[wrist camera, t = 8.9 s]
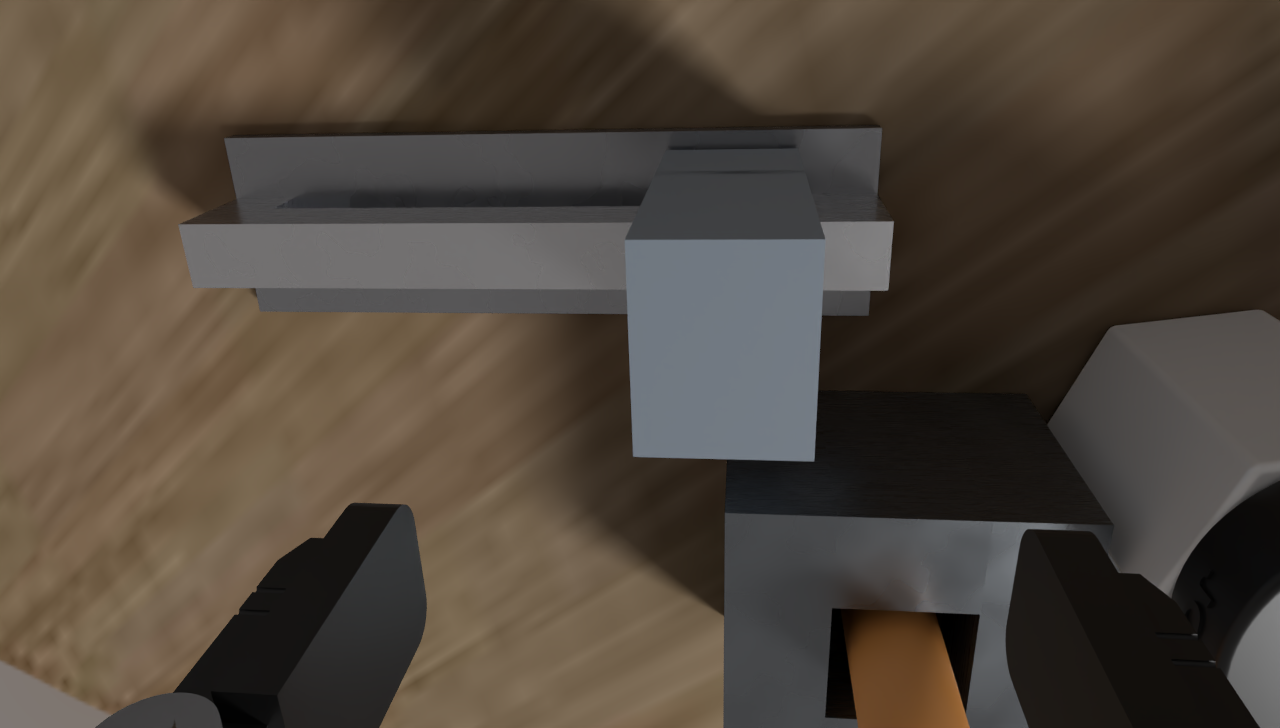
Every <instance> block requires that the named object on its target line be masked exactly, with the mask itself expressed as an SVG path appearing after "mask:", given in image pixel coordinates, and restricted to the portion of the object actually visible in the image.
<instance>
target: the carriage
mask: <svg viewBox="0 0 1280 728" xmlns="http://www.w3.org/2000/svg"><path fill="white" fill-rule="evenodd" d="M825 240H826V239H825V236H824V233H823V229H822V226H821V223H820V219H819V216H818V213H817V209H816V206H815V203H814V199H813V196H812V193H811V189H810V186H809V183H808V179H807V176H806V173H805V169H804V166H803V163H802V160H801V156H800V153H799V150H798V148H789V149H713V150H666V151H665V153H664V156H663V158H662V160H661V162H660V164H659V166H658V169H657V171H656V173H655V175H654V177H653V179H652V182H651V184H650V186H649V188H648V190H647V192H646V195H645V197H644V199H643V201H642V203H641V205H640V208H639V210H638V212H637V214H636V216H635V218H634V221H633V223H632V225H631V227H630V229H629V231H628V234H627V236H626V238H625V262H626V288H627V313H628V338H629V364H630V389H631V415H632V440H633V457H655V458H695V459H735V460H775V461H814V458H815V438H816V419H817V399H818V379H819V359H820V339H821V320H822V300H823V280H824V260H825Z"/></svg>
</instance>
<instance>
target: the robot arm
mask: <svg viewBox="0 0 1280 728" xmlns="http://www.w3.org/2000/svg"><path fill="white" fill-rule="evenodd" d="M426 609H427V603H426V592H425V586H424V579H423V573H422V566H421V560H420V553H419V547H418V541H417V534H416V528H415V521H414V517H413V513H412V511H411V509H410V508H409V506H407V505H401V504H373V503H352V504H350V505H349V506H348V507H347V508H346V509H345V510H344V512H343V513H342V514H341V516H340V517H339V518H338V520H337V521H336V522H335V524H334V525H333V526H332V528H331V529H330V530H329V532H328V533H327V534H326V536H325V537H324V538H310V539H308V540H307V541H305V542H304V543H302V544H301V545H299V546H298V547H297V548H295V549H294V550H292V551H291V552H289V553H288V554H286V555H285V556H283V557H282V558H280V559H279V560H278V561H277V562H276V563H275V564H274V566H273V567H272V568H271V570H270V571H269V572H268V573H267V575H266V576H265V577H264V578H263V580H262V581H261V582H260V583H259V585H258V586H257V591H256V592H252V594H251V595H250V596H249V597H248V599H247V600H246V601H245V602H244V604H243V605H242V606H241V607H240V609H239V614H238V615H234V616H233V618H232V619H231V620H230V621H229V623H228V624H227V625H226V626H225V628H224V629H223V630H222V631H221V633H220V634H219V635H218V637H217V638H216V639H215V640H214V642H213V643H212V644H211V645H210V647H209V648H208V649H207V650H206V652H205V653H204V654H203V656H202V657H201V658H200V659H199V661H198V662H197V663H196V664H195V666H194V667H193V668H192V669H191V671H190V672H189V673H188V674H187V676H186V677H185V678H184V680H183V681H182V682H181V683H180V685H179V686H178V687H177V688H176V690H175V691H174V692H173V693H168V694H162V695H157V696H153V697H150V698H147V699H144V700H141V701H138V702H136V703H134V704H131V705H129V706H127V707H125V708H123V709H121V710H119V711H117V712H116V713H114V714H113V715H111V716H110V717H108V718H107V719H105V720H104V721H103V722H102V723H100V724H99V725H98V726H96V727H95V728H379V727H380V725H381V723H382V721H383V718H384V716H385V714H386V712H387V710H388V708H389V706H390V704H391V702H392V700H393V698H394V696H395V694H396V692H397V690H398V688H399V685H400V683H401V681H402V679H403V677H404V675H405V673H406V671H407V669H408V667H409V665H410V663H411V661H412V659H413V657H414V655H415V652H416V650H417V648H418V646H419V644H420V642H421V639H422V635H423V632H424V627H425V621H426ZM1197 635H1198V634H1197V633H1196V631H1195V630H1194V628H1193V627H1192V625H1191V624H1190V622H1189V621H1188V619H1187V618H1186V616H1185V615H1184V613H1183V612H1182V610H1181V609H1180V607H1179V606H1178V604H1177V603H1176V602H1175V601H1174V600H1173V599H1172V598H1170V597H1169V596H1168V595H1166V594H1165V593H1164V592H1163V591H1161V590H1160V589H1159V588H1157V587H1156V586H1155V585H1154V584H1152V583H1151V582H1150V581H1148V580H1147V579H1146V578H1144V577H1143V576H1142V575H1141V574H1133V573H1118V571H1117V570H1116V568H1115V566H1114V565H1113V563H1112V561H1111V560H1110V558H1109V556H1108V555H1107V553H1106V551H1105V550H1104V548H1103V546H1102V545H1101V543H1100V541H1099V540H1098V538H1097V537H1096V535H1095V534H1094V533H1092V532H1090V531H1072V530H1045V529H1027V530H1026V531H1025V532H1024V534H1023V536H1022V539H1021V542H1020V547H1019V553H1018V559H1017V565H1016V571H1015V577H1014V583H1013V589H1012V595H1011V601H1010V607H1009V613H1008V619H1007V625H1006V638H1005V643H1006V657H1007V664H1008V670H1009V674H1010V677H1011V680H1012V683H1013V686H1014V689H1015V691H1016V694H1017V697H1018V700H1019V702H1020V705H1021V708H1022V711H1023V713H1024V716H1025V719H1026V722H1027V724H1028V727H1029V728H1260V727H1259V725H1258V724H1257V722H1256V721H1255V719H1254V718H1253V716H1252V715H1251V713H1250V712H1249V710H1248V709H1247V707H1246V706H1245V704H1244V703H1243V701H1242V700H1241V698H1240V697H1239V695H1238V694H1237V692H1236V691H1235V689H1234V688H1233V686H1232V685H1231V683H1230V682H1229V680H1228V679H1227V677H1226V676H1225V674H1224V673H1223V671H1222V670H1221V668H1216V665H1215V662H1216V661H1215V659H1214V658H1213V656H1212V655H1211V653H1210V652H1209V650H1208V649H1207V647H1206V646H1205V644H1204V643H1203V641H1198V637H1197Z"/></svg>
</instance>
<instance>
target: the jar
mask: <svg viewBox="0 0 1280 728" xmlns="http://www.w3.org/2000/svg"><path fill="white" fill-rule="evenodd" d="M1047 426H1048V427H1049V429H1050V430H1051V432H1052V433H1053V435H1054V436H1055V438H1056V439H1057V441H1058V442H1059V444H1060V445H1061V447H1062V448H1063V450H1064V451H1065V453H1066V454H1067V456H1068V457H1069V459H1070V460H1071V462H1072V463H1073V465H1074V466H1075V468H1076V469H1077V471H1078V472H1079V474H1080V475H1081V477H1082V478H1083V480H1084V481H1085V483H1086V484H1087V486H1088V487H1089V489H1090V490H1091V492H1092V493H1093V495H1094V496H1095V498H1096V499H1097V501H1098V502H1099V504H1100V505H1101V507H1102V508H1103V510H1104V511H1105V513H1106V514H1107V516H1108V517H1109V519H1110V520H1111V521H1112V523H1113V524H1114V529H1113V534H1112V538H1111V543H1110V548H1109V553H1108V556H1109V558H1110V560H1111V561H1112V563H1113V565H1114V566H1115V568H1116V570H1117V571H1118V573H1133V574H1141V575H1142V576H1143V577H1144V578H1146V579H1147V580H1148V581H1150V582H1151V583H1152V584H1154V585H1155V586H1156V587H1157V588H1159V589H1160V590H1161V591H1163V592H1164V593H1165V594H1166V595H1168V596H1169V597H1170V598H1172V599H1173V600H1174V601H1175V602H1176V603H1177V604H1178V606H1179V607H1180V609H1181V610H1182V612H1183V613H1184V615H1185V616H1186V618H1187V619H1188V621H1189V622H1190V624H1191V625H1192V627H1193V628H1194V630H1195V631H1196V633H1197V634H1198V635H1197V637H1198V641H1203V643H1204V644H1205V646H1206V647H1207V649H1208V650H1209V652H1210V653H1211V655H1212V656H1213V658H1214V659H1215V661H1216V662H1215V665H1216V668H1221V670H1222V671H1223V673H1224V674H1225V676H1226V677H1227V679H1228V680H1229V682H1230V683H1231V685H1232V686H1233V688H1234V689H1235V691H1236V692H1237V694H1238V695H1239V697H1240V698H1241V700H1242V701H1243V703H1244V704H1245V706H1246V707H1247V709H1248V710H1249V712H1250V713H1251V715H1252V716H1253V718H1254V719H1255V721H1256V722H1257V724H1258V725H1259V727H1260V728H1280V321H1279V320H1278V319H1276V318H1275V317H1273V316H1272V315H1270V314H1269V313H1267V312H1265V311H1263V310H1248V311H1239V312H1230V313H1222V314H1213V315H1204V316H1195V317H1186V318H1177V319H1168V320H1160V321H1151V322H1142V323H1133V324H1124V325H1116V326H1112V327H1111V328H1109V329H1108V331H1107V332H1106V334H1105V335H1104V337H1103V338H1102V340H1101V341H1100V343H1099V345H1098V346H1097V348H1096V349H1095V351H1094V352H1093V354H1092V355H1091V357H1090V359H1089V360H1088V362H1087V363H1086V365H1085V366H1084V368H1083V369H1082V371H1081V373H1080V374H1079V376H1078V377H1077V379H1076V380H1075V382H1074V383H1073V385H1072V387H1071V388H1070V390H1069V391H1068V393H1067V394H1066V396H1065V397H1064V399H1063V401H1062V402H1061V404H1060V405H1059V407H1058V408H1057V410H1056V411H1055V413H1054V415H1053V416H1052V418H1051V419H1050V421H1049V422H1048V424H1047Z"/></svg>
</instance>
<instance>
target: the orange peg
mask: <svg viewBox="0 0 1280 728" xmlns="http://www.w3.org/2000/svg"><path fill="white" fill-rule="evenodd" d="M841 616H842V622H843V629H844V636H845V642H846V649H847V656H848V663H849V669H850V676H851V683H852V689H853V696H854V703H855V710H856V716H857V723H858V728H970V727H969V724H968V720H967V717H966V714H965V710H964V707H963V704H962V700H961V697H960V693H959V690H958V687H957V683H956V680H955V677H954V673H953V670H952V667H951V663H950V660H949V656H948V653H947V650H946V646H945V643H944V640H943V636H942V633H941V630H940V626H939V623H938V619H937V616H936V613H933V612H910V611H886V610H863V609H841Z"/></svg>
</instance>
